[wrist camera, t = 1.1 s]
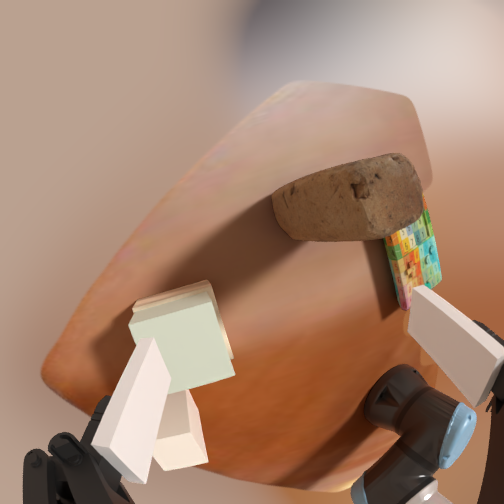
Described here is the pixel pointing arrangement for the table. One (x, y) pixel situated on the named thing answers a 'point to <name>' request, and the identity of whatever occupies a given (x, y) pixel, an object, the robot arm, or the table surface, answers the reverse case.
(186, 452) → the cream block
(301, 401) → the table surface
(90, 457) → the robot arm
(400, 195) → the block
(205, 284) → the tower base
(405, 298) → the puzzle game
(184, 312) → the tower top
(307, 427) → the table surface
